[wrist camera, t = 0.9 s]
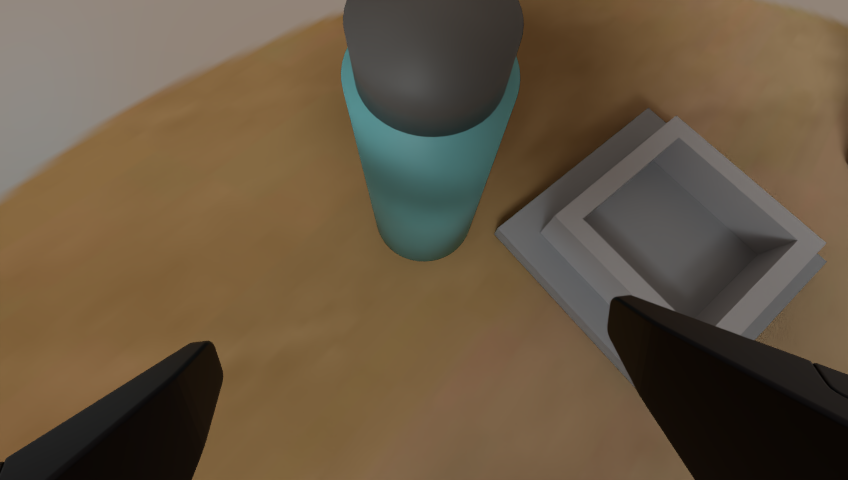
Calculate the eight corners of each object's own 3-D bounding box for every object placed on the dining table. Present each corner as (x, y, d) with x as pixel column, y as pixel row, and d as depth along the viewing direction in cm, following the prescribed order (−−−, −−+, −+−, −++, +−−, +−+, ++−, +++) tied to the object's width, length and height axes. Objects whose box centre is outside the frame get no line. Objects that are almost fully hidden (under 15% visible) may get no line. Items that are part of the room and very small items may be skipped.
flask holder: (810, 266, 23) (875, 248, 20) (666, 421, 21) (713, 429, 17) (640, 117, 27) (671, 80, 23) (494, 234, 24) (507, 210, 20)
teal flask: (489, 222, 24) (582, 31, 11) (416, 280, 23) (418, 145, 9) (430, 157, 25) (446, -85, 12) (357, 209, 24) (286, 3, 11)
